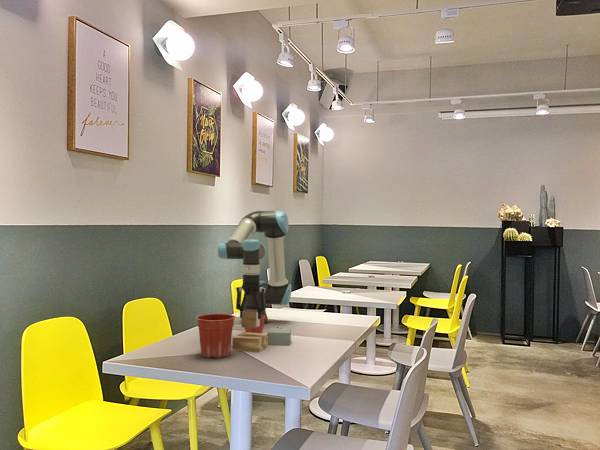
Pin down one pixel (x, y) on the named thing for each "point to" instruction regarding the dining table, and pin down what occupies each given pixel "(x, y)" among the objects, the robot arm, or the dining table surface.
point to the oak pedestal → (250, 342)
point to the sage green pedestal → (279, 336)
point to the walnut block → (249, 318)
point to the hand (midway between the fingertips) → (250, 325)
